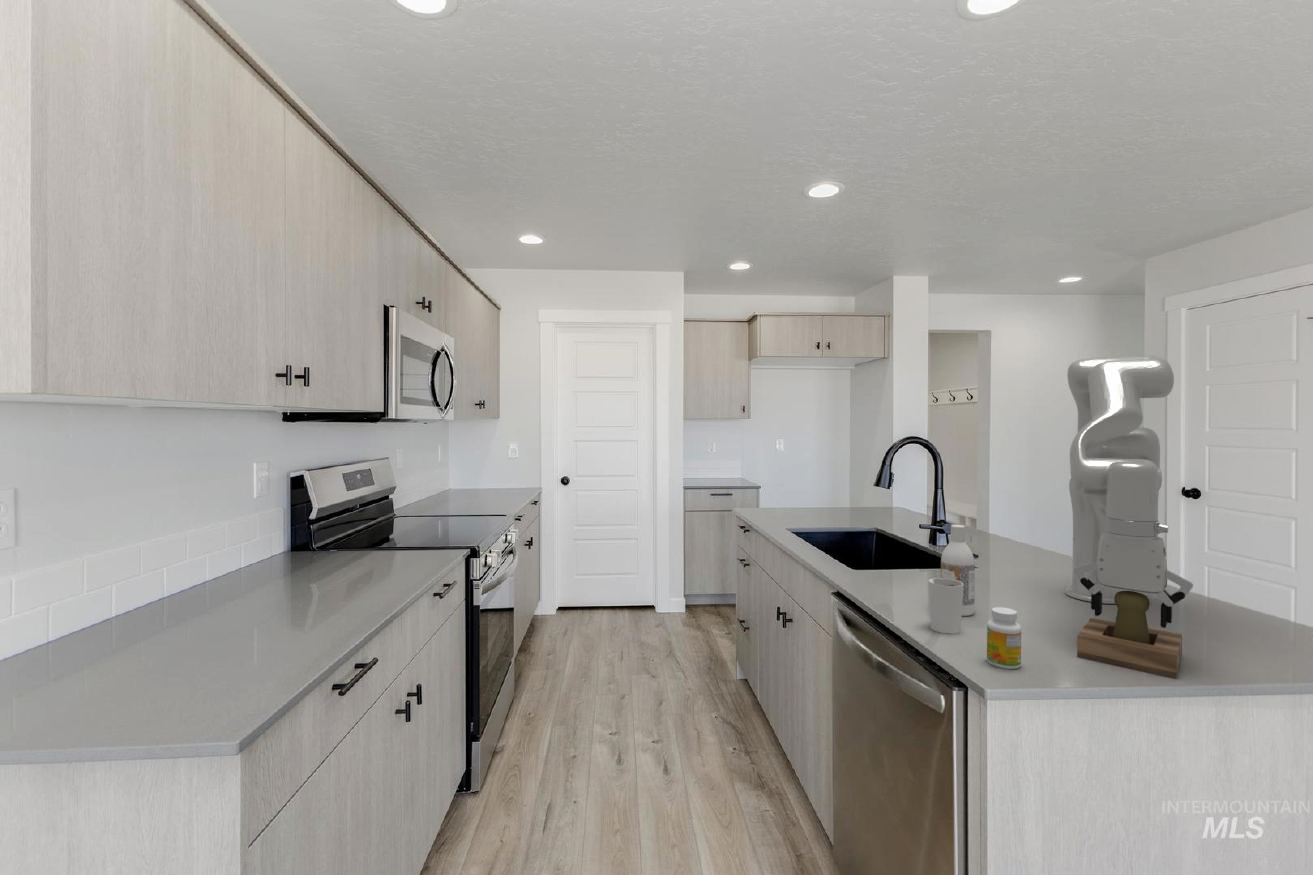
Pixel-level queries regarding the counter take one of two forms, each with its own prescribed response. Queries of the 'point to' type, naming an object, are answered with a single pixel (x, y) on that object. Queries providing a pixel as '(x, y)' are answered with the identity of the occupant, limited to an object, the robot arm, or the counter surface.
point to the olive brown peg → (1131, 616)
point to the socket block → (1131, 649)
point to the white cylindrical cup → (945, 605)
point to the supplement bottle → (1004, 639)
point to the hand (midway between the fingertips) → (1130, 619)
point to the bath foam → (960, 566)
